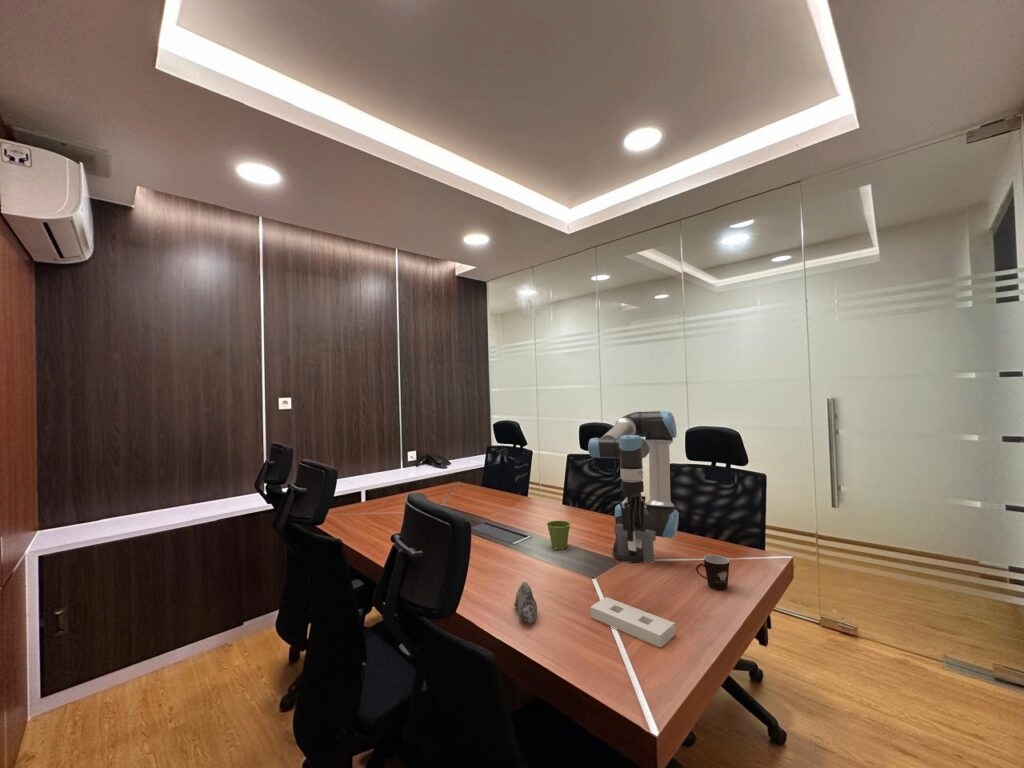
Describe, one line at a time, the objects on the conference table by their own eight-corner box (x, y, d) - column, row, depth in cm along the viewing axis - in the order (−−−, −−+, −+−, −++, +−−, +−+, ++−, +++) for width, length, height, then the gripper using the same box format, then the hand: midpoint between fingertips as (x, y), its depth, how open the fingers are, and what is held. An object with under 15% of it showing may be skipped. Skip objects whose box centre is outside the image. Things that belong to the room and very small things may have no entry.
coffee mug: (728, 583, 155) (727, 556, 155) (732, 593, 146) (731, 564, 147) (695, 579, 158) (693, 553, 159) (697, 589, 150) (695, 561, 151)
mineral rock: (531, 629, 128) (530, 597, 128) (500, 622, 133) (499, 591, 133) (546, 610, 140) (545, 580, 140) (518, 604, 144) (517, 575, 145)
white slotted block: (590, 617, 134) (590, 606, 134) (606, 607, 140) (606, 596, 140) (660, 648, 116) (660, 635, 116) (675, 634, 122) (674, 622, 123)
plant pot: (575, 545, 200) (574, 521, 201) (565, 553, 190) (564, 528, 191) (554, 541, 207) (553, 518, 207) (542, 549, 197) (541, 525, 197)
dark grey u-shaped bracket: (615, 553, 146) (614, 525, 146) (620, 551, 148) (618, 523, 148) (652, 564, 136) (650, 533, 136) (656, 561, 138) (655, 531, 138)
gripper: (629, 485, 135) (632, 558, 134) (653, 477, 146) (656, 545, 145) (609, 482, 140) (612, 552, 139) (634, 475, 151) (637, 540, 150)
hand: (635, 548), depth 142 cm, fingers closed on dark grey u-shaped bracket, 3 cm apart
